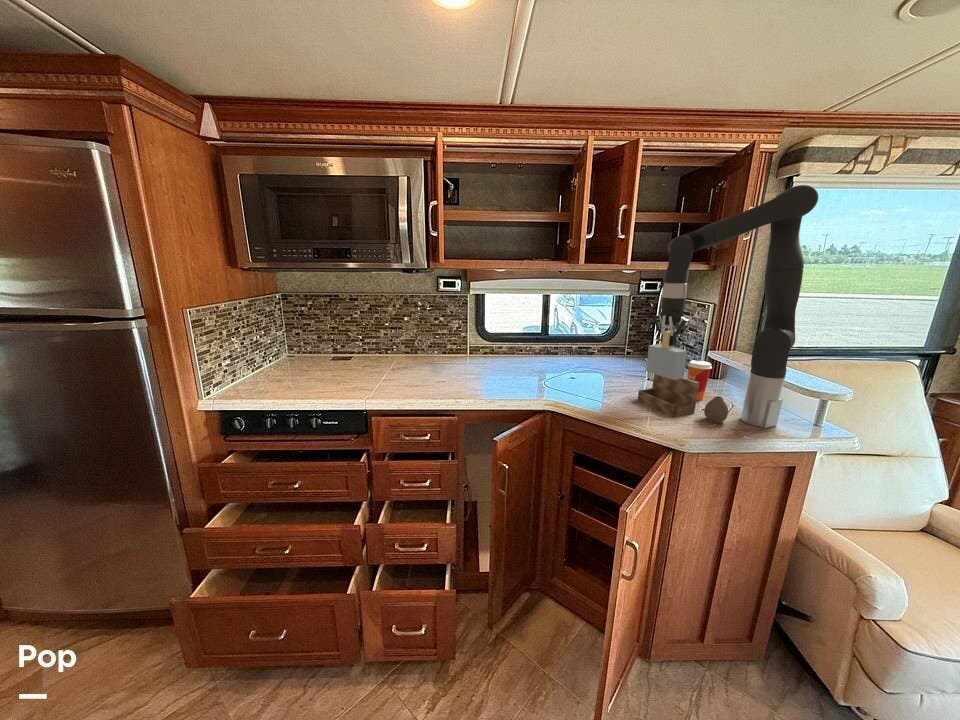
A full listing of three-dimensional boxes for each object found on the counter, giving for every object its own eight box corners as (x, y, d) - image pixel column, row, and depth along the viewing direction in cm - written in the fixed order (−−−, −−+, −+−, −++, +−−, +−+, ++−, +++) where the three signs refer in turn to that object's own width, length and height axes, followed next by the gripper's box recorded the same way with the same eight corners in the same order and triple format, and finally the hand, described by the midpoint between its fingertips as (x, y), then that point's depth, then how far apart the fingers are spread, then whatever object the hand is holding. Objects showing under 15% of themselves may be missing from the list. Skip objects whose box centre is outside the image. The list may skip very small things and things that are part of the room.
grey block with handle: (683, 378, 129) (689, 333, 125) (673, 379, 127) (679, 334, 123) (655, 369, 140) (660, 328, 136) (645, 371, 138) (650, 329, 134)
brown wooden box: (694, 413, 132) (699, 382, 129) (674, 417, 129) (679, 385, 126) (654, 396, 149) (658, 368, 145) (635, 400, 145) (639, 371, 142)
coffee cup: (681, 393, 153) (687, 359, 149) (703, 396, 150) (710, 361, 146) (684, 400, 145) (690, 364, 141) (707, 403, 142) (714, 366, 138)
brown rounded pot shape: (720, 426, 122) (725, 402, 120) (699, 419, 127) (703, 396, 125) (729, 421, 126) (734, 398, 124) (708, 415, 131) (712, 392, 129)
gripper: (700, 297, 121) (692, 347, 126) (664, 294, 134) (659, 340, 138) (684, 298, 118) (677, 350, 123) (649, 295, 131) (644, 342, 135)
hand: (667, 344), depth 130 cm, fingers closed on grey block with handle, 2 cm apart
